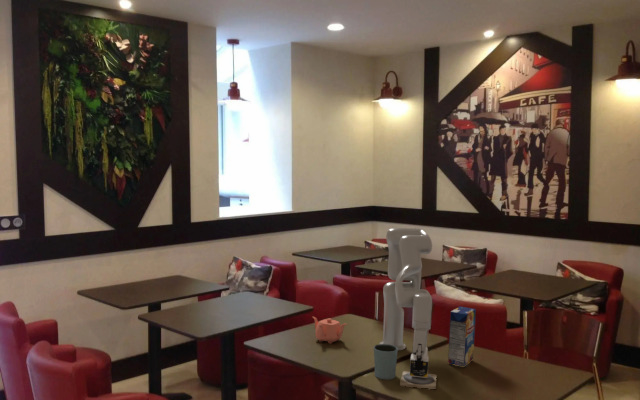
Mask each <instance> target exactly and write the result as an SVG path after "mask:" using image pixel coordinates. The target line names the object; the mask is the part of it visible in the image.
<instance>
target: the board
mask: <svg viewBox="0 0 640 400" xmlns="http://www.w3.org/2000/svg"><path fill="white" fill-rule="evenodd" d="M401 373H402V374H401V378H400V381H399V386H400V387H405V386H406V387H405V388H413V387H417V388H416V389H421V388H430V389H436V388H437V379H436V378H437V376H438V375H437V374H434V373H428V377H427V378H423V377H413V376H410V370H409V371H408V370H403V371H402V372H401ZM430 389H429V390H430Z"/></svg>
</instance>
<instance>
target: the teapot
mask: <svg viewBox="0 0 640 400" xmlns="http://www.w3.org/2000/svg"><path fill="white" fill-rule="evenodd" d="M312 319H314V329H315V333H314V334H315V338H316V339H317V340H318V341H319V342H327V343H328V344H333V343H334V342H338V341H339V340H340V339H341V338H342V336H343V333H344V329H345V328H344V327H345V326H346V325H347V323H342V324H341V322H340V321H338V320H336V319H332V318H324V319H322V320H318V318H317V317H315V316H312Z"/></svg>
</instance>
